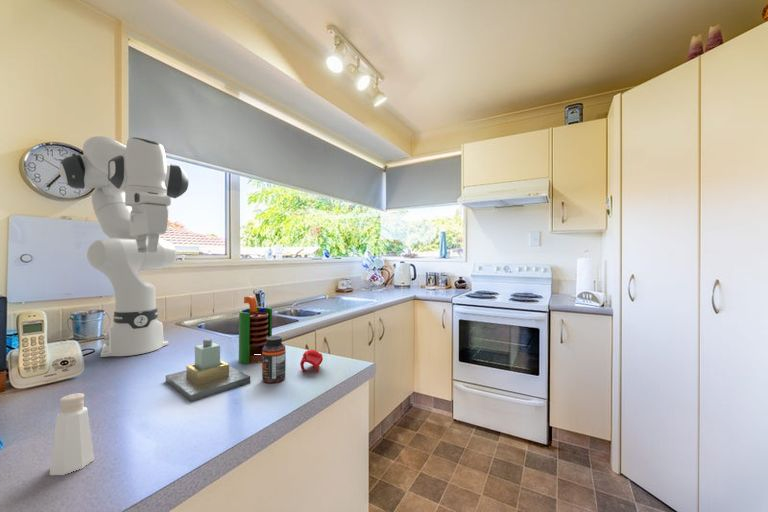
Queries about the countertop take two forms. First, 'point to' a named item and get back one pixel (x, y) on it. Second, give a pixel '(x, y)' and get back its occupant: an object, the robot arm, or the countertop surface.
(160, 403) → the countertop surface
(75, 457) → the salt shaker
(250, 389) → the countertop surface
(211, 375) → the mounting plate
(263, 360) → the supplement bottle
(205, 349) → the pale green flat box
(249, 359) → the motor
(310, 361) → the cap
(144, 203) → the robot arm
